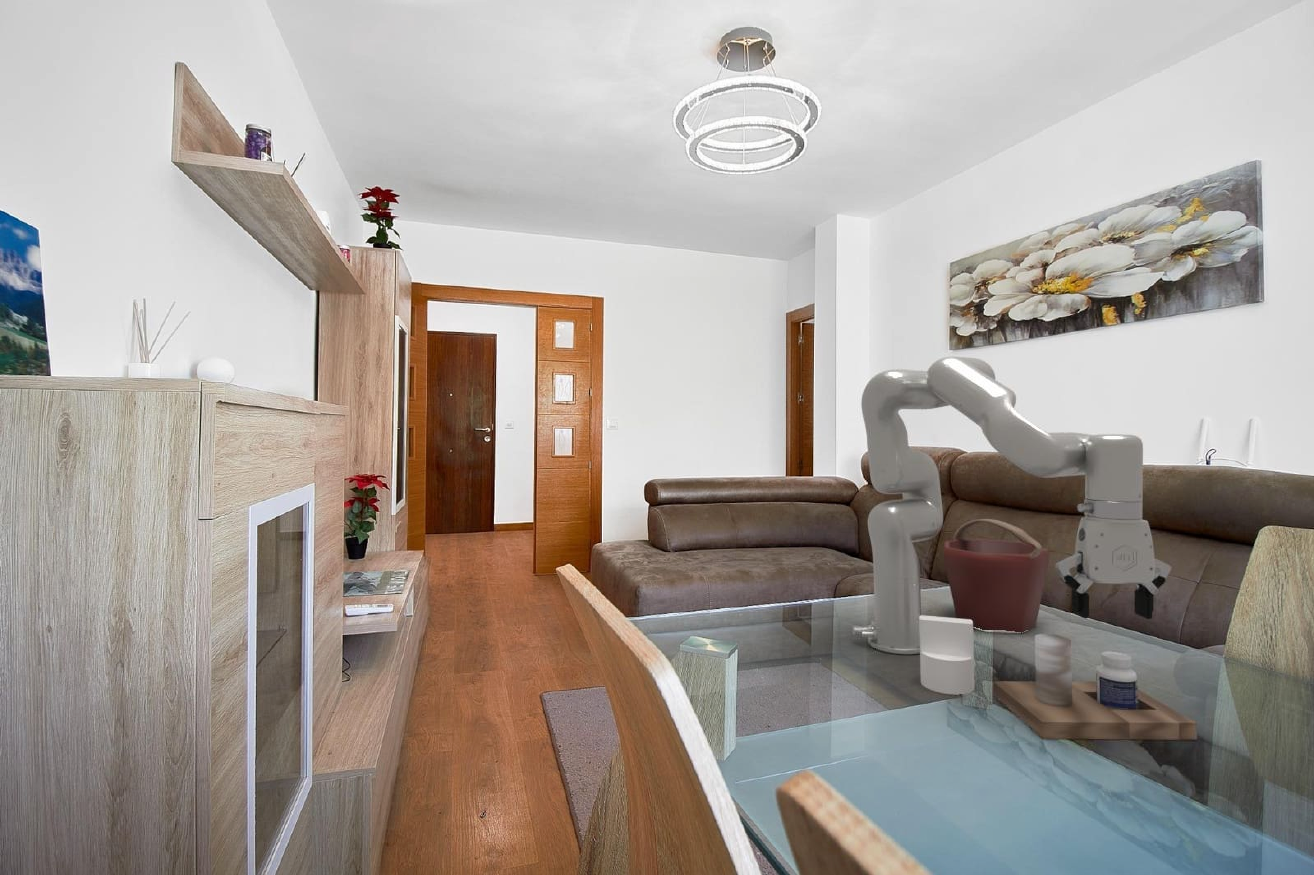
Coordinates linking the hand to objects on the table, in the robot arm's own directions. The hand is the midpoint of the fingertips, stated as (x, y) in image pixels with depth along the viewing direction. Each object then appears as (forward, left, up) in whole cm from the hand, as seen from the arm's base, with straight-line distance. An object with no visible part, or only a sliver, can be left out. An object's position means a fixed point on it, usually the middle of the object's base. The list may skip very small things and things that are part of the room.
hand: (1111, 616), depth 103 cm
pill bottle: (0, 0, -16) cm, 16 cm away
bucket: (+3, +50, -16) cm, 53 cm away
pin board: (-5, -1, -16) cm, 17 cm away
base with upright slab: (-22, +12, -16) cm, 30 cm away
